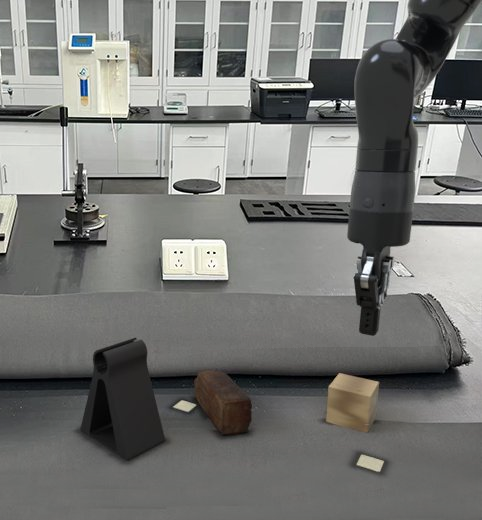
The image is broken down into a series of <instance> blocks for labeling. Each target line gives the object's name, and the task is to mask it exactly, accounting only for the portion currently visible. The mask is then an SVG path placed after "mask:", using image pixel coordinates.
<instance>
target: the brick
mask: <svg viewBox="0 0 482 520" xmlns="http://www.w3.org/2000/svg"><path fill="white" fill-rule="evenodd" d="M196 376H197V377H195V379H194V382H193V383H194V384H193V385H194V389H193V390H194V396H195V399H196V401H197V402H198V404H199V406H200V407H201V409H202V410H203V411H204V413H205V414H206V415H207V416H208V418H209V420H210V421H211V423H212V424H213V425H214V427H215V428H216V429H217V430H218V433H220V434H221V436H230V435H239V434H244V433H248V431H249V427H250V424H251V423H252V419H253V417H252V412H253V411H252V409H253V407H252V406H253V404H252V400H251V398H250V396H249V395H248V394H247V393H246V392H244V390H243V389H242V388H241V387H240V386H239V385H238V384H237V383H236V382H235V381H234V380H233V379H232V378H231V377H230V375H228V374H227V373H226V372H224V371H220V370H209V369H206V370H205V369H204V370H201V371H198V372H197V375H196Z"/></svg>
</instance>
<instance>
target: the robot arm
mask: <svg viewBox="0 0 482 520" xmlns="http://www.w3.org/2000/svg"><path fill="white" fill-rule="evenodd" d="M481 4H482V0H408V2H407V17H406V20H405V22H404V23H403V25H402V27H401V28H400V30H399V32H398V33H397V36H396V37H395V38H387V39H383V40H382V39H381V40H380V41H378V42H375V43H374V44H372V45H371V46H370V47H368V48H367V50H366V51H365V52H364V53H363V55H361V58H360V59H359V62H358V65H357V68H356V70H355V76H354V92H353V93H354V106H355V107H354V108H355V118H356V125H357V134H358V137H357V138H358V139H357V146H356V155H355V156H356V158H355V167H354V169H355V170H354V175H353V180H352V184H351V190H350V200H349V211H348V223H347V234H346V236H347V240H348V241H349V242H351V243H353V244H360V245H361V246H362V251H361V256H357V258H356V264H355V265H356V268H357V270H358V273H355V276H354V277H353V279H354V283H353V285H354V293H355V303H356V306H359V307H360V315H359V327H358V332H359V333H360V334H361V335H366V336H372V337H374V336H376V335H377V333H378V332H379V329H380V318H381V310H382V309H381V308H382V307H383V305H384V303H385V300H386V297H387V296H388V289H389V287H390V284H391V283H390V275H391V270H392V268H393V267H395V256H394V255H393V256H392V255H391V247H392V248H393V247H395V248H396V247H397V248H398V247H404V246H407V245H408V244H409V243H410V241H411V235H412V234H411V233H412V225H413V217H414V216H413V215H414V208H415V207H414V206H415V197H416V168H417V161H418V149H419V131H418V129H417V127H416V126H415V123H414V105H415V99H417V98H418V97H419V96H420V95H421V94H422V93H423V92H424V91H425V90H426V89H427V88H428V87H429V86H430V84H431V83H432V82H433V80H434V79H435V78H436V76H437V74H439V72H440V70H441V69H442V66H443V65H444V63H445V61H446V60H447V57H448V56H449V54H450V52H451V50H452V49H453V47H454V45H455V43H456V41H457V39H458V37H459V35H460V33H461V31H462V29H463V28H464V27H465V25H466V24H467V22H468V21H469V20H470V19H471V18H472V16H473V15H474V14H475V12H476V10H478V9H479V7H480V6H481Z"/></svg>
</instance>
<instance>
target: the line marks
mask: <svg viewBox="0 0 482 520" xmlns="http://www.w3.org/2000/svg"><path fill="white" fill-rule="evenodd" d="M195 407H197V404H196V403H192V402H189V401H186V400H183V399H182V400H180V401H179V402H177V403H176V404H175V405H174V406H172V408H174V409H177V410H179V411H183V412H185V413H189V412H190V411H192V410H193V409H195ZM384 463H385V461H384V460H381V459H378V458H375V457H372V456H368V455H365V454H360V457H359V459H358V460H357V463H356V466H358V467H362V468H365V469H368V470H371V471H374V472H377V473H380V472H381V470H382V468H383V466H384Z"/></svg>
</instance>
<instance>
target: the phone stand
mask: <svg viewBox="0 0 482 520" xmlns="http://www.w3.org/2000/svg"><path fill="white" fill-rule="evenodd" d="M92 365H93V371H92V372H93V373H92V378H91V382H90V386H89V390H88V395H87V399H86V402H85V408H84V412H83V416H82V419H81V421H82V422H81V425H80V428H79V429H80V432H81V433H83V434H85V435H86V436H88V437H89V438H91V439H92V440H94V441H95V442H97V443H98V444H100V445H101V446H103V447H105V448H107V449H108V450H109V451H111V452H112V453H114V454H116V455H118V456H119V457H121V459H124V460H125V461H126V462H129V461H130V460H132V459H134V458H136V457H138V456H139V455H141V454H143V453H145V452H147V451H149V450H151V449H152V448H155V447H157V446H159V445H160V444H162V443H164V442H166V437H165V433H164V429H163V426H162V425H163V424H162V421H161V417H160V413H159V409H158V405H157V400H156V397H155V392H154V388H153V384H152V379H151V376H150V372H149V368H148V348H147V345H146V343H145V342H144V340H143V339H142V338H140V339H137V337H133V338H129V339H126V340H124V341H121V342H117V343H115V344H112V345H108V346H106V347H102V348H99V349H96V350H95V351H94V352H93V355H92Z"/></svg>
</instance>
